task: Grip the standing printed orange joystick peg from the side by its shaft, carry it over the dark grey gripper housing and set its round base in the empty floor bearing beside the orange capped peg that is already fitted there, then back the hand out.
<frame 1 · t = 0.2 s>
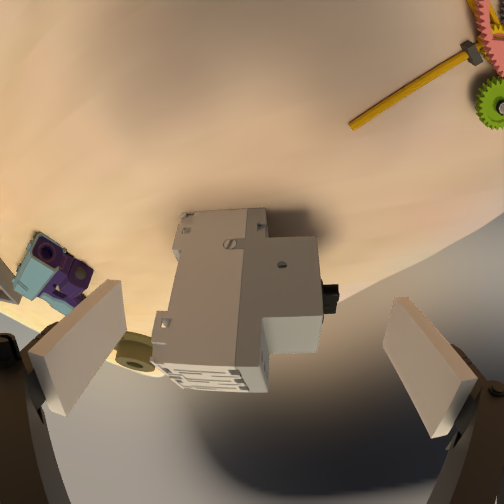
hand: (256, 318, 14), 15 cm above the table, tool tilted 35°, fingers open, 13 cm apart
circuit breaker: (258, 233, 32), on the table
mechanical gear assembly: (488, 33, 14), on the table
pistol: (65, 273, 42), on the table
flange: (139, 343, 61), on the table
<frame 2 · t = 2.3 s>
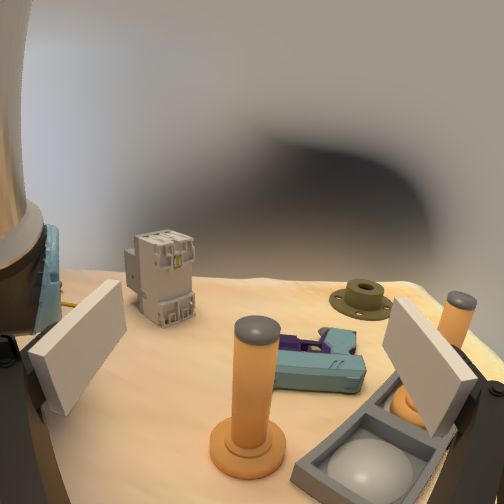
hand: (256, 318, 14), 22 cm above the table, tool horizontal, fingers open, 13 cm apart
circuit breaker: (157, 308, 60), on the table
pistol: (310, 365, 46), on the table
housing: (394, 445, 29), on the table
orange joystick peg: (247, 450, 29), on the table
flange: (361, 306, 66), on the table
orange capped peg: (417, 412, 32), point 1 cm above the table, touching housing
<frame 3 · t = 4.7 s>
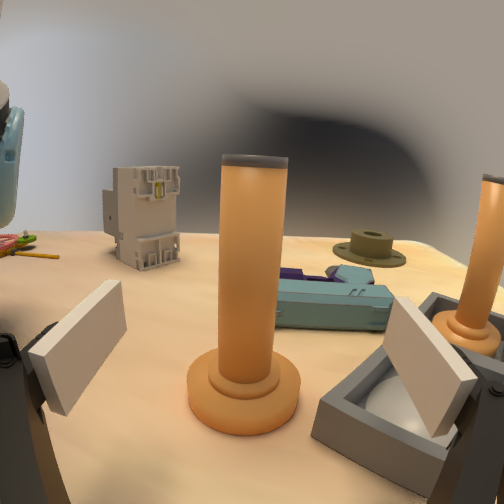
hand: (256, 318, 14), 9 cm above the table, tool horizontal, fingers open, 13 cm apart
circuit breaker: (137, 256, 52), on the table
mechanical gear assembly: (5, 257, 48), on the table
pistol: (319, 306, 38), on the table
housing: (444, 384, 22), on the table
orange joystick peg: (242, 396, 22), on the table
flange: (369, 257, 59), on the table
orange capped peg: (461, 345, 25), point 1 cm above the table, touching housing
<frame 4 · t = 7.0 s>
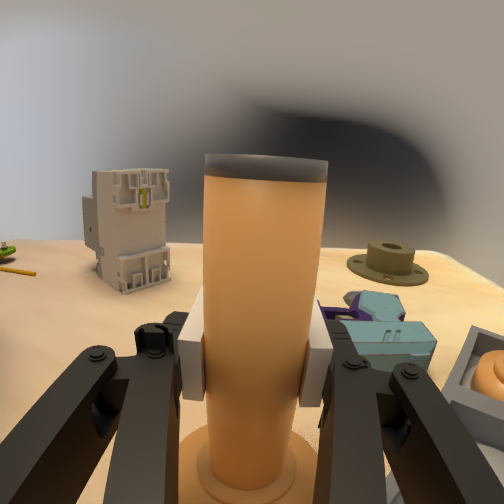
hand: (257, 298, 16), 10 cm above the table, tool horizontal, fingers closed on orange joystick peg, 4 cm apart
circuit breaker: (123, 273, 44), on the table
pistol: (339, 345, 30), on the table
housing: (489, 448, 14), on the table
orange joystick peg: (244, 487, 14), on the table, touching gripper
flange: (387, 273, 51), on the table
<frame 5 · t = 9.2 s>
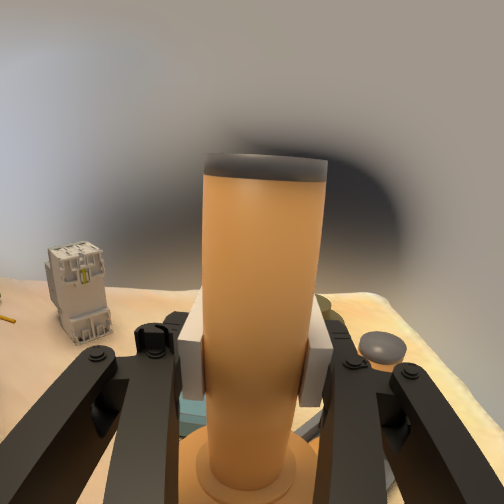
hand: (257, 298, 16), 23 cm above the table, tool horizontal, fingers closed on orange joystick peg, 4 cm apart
circuit breaker: (80, 323, 52), on the table
pistol: (220, 405, 37), on the table
orange joystick peg: (244, 487, 14), point 13 cm above the table, touching gripper
flange: (305, 324, 59), on the table
orange capped peg: (334, 471, 25), point 1 cm above the table, touching housing
when the fingers open (12 cm above the table, at t = 11.4 s): orange joystick peg drops 1 cm, resting on housing.
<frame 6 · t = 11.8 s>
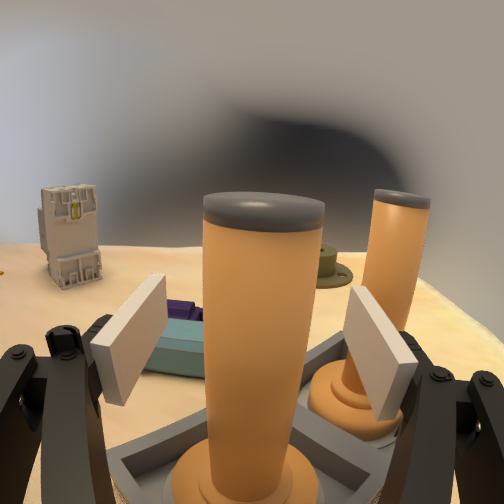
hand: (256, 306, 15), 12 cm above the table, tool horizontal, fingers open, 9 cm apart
circuit breaker: (69, 272, 49), on the table
pistol: (214, 344, 34), on the table
housing: (306, 457, 18), on the table
orange joystick peg: (243, 497, 14), point 1 cm above the table, touching housing
flange: (310, 275, 56), on the table
orange capped peg: (355, 406, 22), point 1 cm above the table, touching housing
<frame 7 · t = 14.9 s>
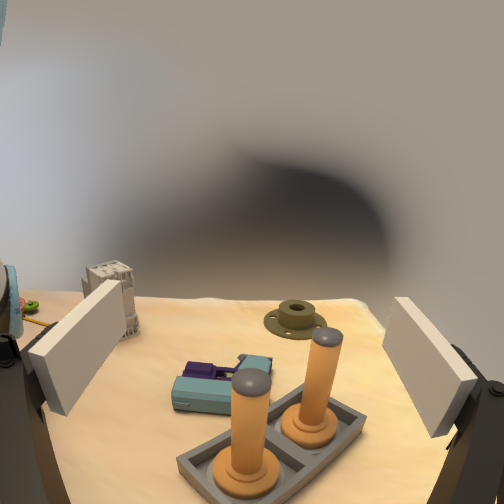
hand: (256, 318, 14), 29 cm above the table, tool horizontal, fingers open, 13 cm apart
circuit breaker: (111, 326, 66), on the table
mechanical gear assembly: (16, 319, 63), on the table
pistol: (226, 389, 50), on the table
housing: (278, 456, 36), on the table
orange joystick peg: (245, 474, 31), point 1 cm above the table, touching housing
flange: (295, 325, 74), on the table
orange capped peg: (307, 429, 39), point 1 cm above the table, touching housing
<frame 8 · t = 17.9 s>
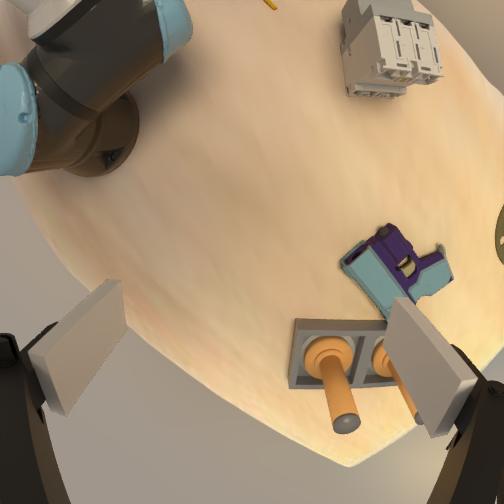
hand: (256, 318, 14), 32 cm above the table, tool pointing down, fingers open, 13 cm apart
circuit breaker: (364, 53, 37), on the table
pistol: (399, 263, 47), on the table
housing: (359, 349, 51), on the table
orange joystick peg: (327, 354, 50), point 1 cm above the table, touching housing
orange capped peg: (391, 352, 50), point 1 cm above the table, touching housing
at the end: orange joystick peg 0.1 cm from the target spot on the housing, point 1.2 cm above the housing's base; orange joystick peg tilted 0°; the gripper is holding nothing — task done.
